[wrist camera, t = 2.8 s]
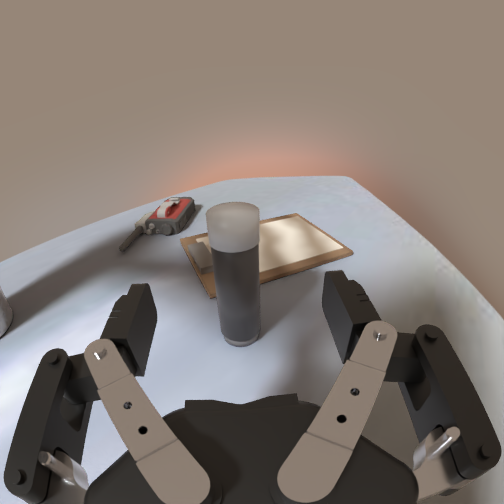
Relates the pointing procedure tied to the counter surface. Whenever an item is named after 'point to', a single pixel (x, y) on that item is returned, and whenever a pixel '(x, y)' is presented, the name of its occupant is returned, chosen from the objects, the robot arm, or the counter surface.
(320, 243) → the clipboard
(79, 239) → the counter surface
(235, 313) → the bottle
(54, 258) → the counter surface
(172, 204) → the walkie-talkie
